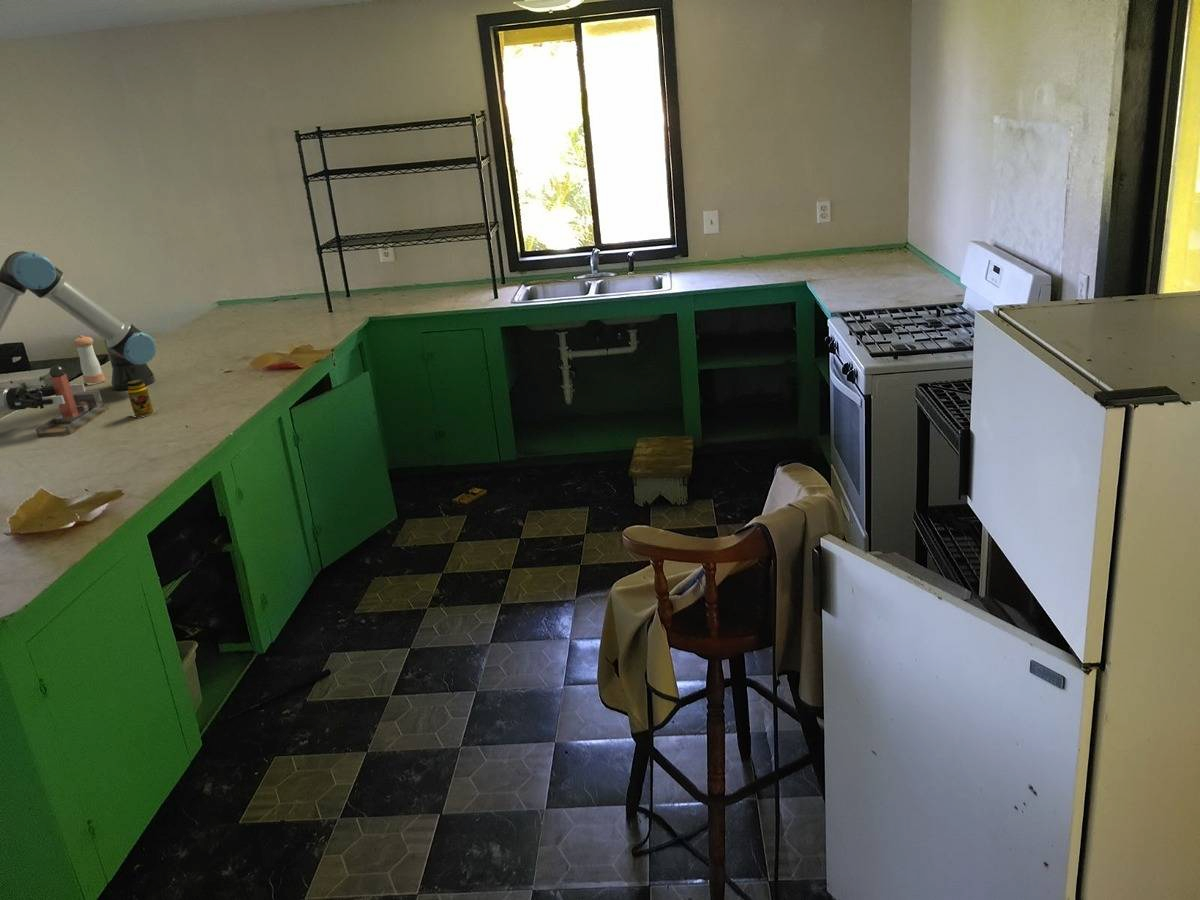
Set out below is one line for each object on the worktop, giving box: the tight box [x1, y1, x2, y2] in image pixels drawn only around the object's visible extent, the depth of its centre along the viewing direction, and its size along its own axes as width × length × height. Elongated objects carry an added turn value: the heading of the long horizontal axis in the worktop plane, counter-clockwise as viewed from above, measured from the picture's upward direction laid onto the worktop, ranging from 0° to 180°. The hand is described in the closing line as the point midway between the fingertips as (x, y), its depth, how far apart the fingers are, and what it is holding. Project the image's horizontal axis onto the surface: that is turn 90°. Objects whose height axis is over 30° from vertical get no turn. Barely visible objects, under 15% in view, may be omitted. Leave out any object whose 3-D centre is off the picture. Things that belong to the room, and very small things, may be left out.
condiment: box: [127, 379, 160, 417], centre depth 321 cm, size 7×8×12 cm
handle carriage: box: [49, 365, 89, 423], centre depth 317 cm, size 9×8×19 cm
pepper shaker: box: [72, 334, 106, 384], centre depth 367 cm, size 7×7×19 cm
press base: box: [35, 389, 110, 438], centre depth 319 cm, size 26×11×7 cm, turn 0°
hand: (73, 393), depth 316 cm, fingers open, 13 cm apart
